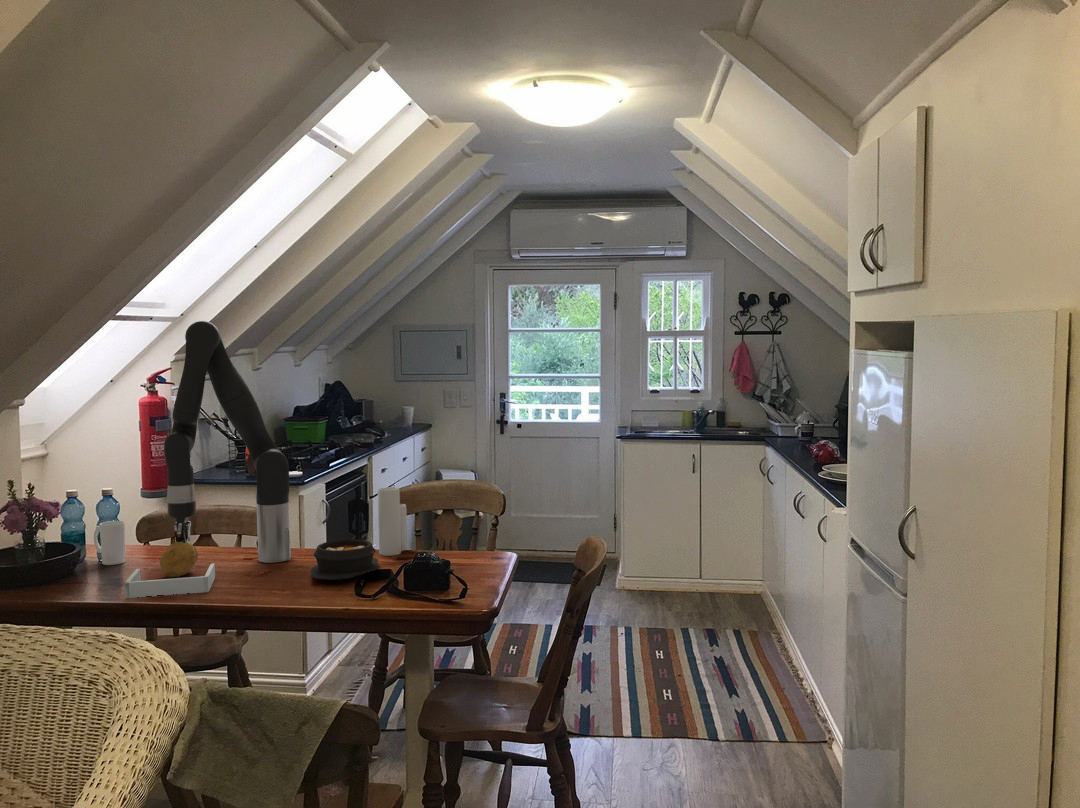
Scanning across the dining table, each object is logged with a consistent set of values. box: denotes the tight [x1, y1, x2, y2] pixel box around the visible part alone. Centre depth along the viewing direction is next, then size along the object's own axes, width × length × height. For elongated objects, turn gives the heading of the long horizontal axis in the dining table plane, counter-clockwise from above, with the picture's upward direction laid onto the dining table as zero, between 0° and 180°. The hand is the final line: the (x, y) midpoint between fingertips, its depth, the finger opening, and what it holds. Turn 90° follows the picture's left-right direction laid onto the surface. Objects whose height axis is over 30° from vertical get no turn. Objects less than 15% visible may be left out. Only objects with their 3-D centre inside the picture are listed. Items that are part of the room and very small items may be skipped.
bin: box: [124, 563, 216, 600], centre depth 230 cm, size 20×15×4 cm
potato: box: [159, 541, 199, 578], centre depth 242 cm, size 10×13×9 cm
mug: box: [93, 520, 126, 566], centre depth 259 cm, size 10×7×12 cm, turn 75°
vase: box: [377, 486, 408, 557], centre depth 268 cm, size 11×7×20 cm, turn 169°
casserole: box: [309, 538, 380, 581], centre depth 241 cm, size 25×19×8 cm
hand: (183, 559), depth 251 cm, fingers closed
